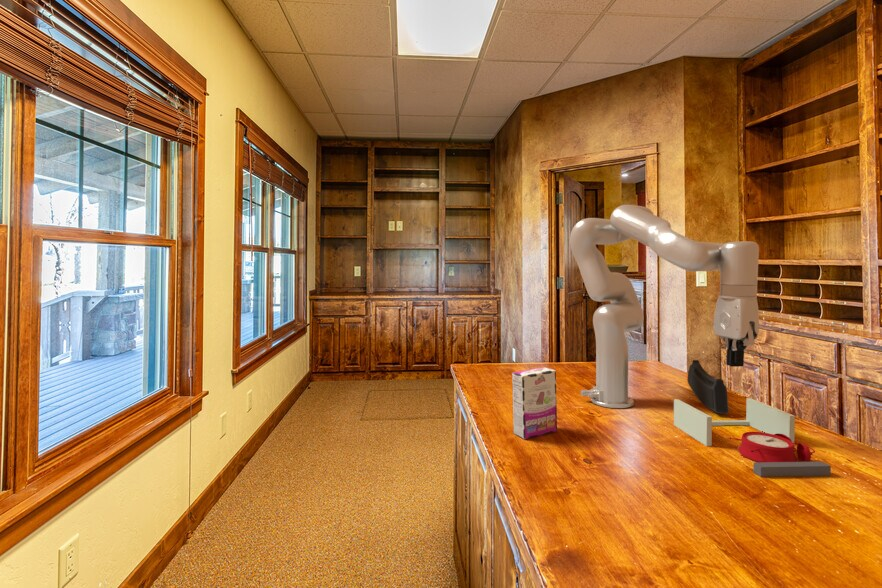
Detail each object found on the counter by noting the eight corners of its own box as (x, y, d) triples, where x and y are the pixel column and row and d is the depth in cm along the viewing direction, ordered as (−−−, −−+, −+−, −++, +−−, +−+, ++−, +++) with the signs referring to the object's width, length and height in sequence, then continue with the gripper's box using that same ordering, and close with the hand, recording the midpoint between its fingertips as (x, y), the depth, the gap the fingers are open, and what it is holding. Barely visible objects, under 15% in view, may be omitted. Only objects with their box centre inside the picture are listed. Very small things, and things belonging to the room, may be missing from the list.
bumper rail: (760, 476, 84) (760, 467, 83) (753, 472, 86) (753, 462, 85) (830, 475, 84) (830, 466, 83) (821, 471, 86) (821, 461, 85)
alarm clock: (722, 432, 98) (786, 417, 97) (728, 457, 98) (791, 443, 98) (755, 451, 87) (826, 435, 87) (761, 479, 88) (832, 463, 87)
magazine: (732, 389, 114) (701, 341, 141) (718, 388, 115) (690, 341, 142) (725, 440, 120) (696, 385, 147) (712, 439, 121) (686, 384, 148)
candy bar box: (544, 425, 114) (544, 366, 113) (557, 431, 109) (557, 370, 108) (511, 433, 108) (511, 371, 108) (523, 440, 104) (523, 375, 103)
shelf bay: (706, 446, 99) (706, 417, 98) (673, 424, 113) (673, 399, 112) (794, 444, 98) (794, 415, 98) (750, 423, 112) (751, 398, 112)
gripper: (703, 290, 109) (700, 359, 111) (744, 294, 94) (741, 373, 96) (731, 290, 109) (729, 359, 110) (777, 294, 94) (773, 373, 96)
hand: (734, 365), depth 103 cm, fingers closed
